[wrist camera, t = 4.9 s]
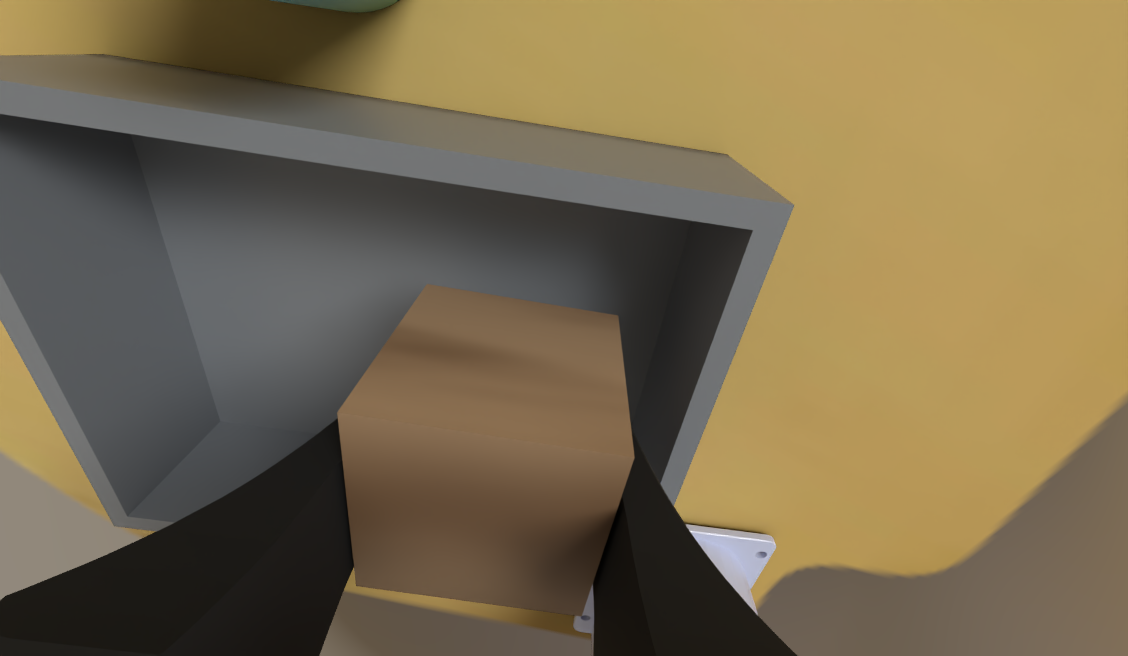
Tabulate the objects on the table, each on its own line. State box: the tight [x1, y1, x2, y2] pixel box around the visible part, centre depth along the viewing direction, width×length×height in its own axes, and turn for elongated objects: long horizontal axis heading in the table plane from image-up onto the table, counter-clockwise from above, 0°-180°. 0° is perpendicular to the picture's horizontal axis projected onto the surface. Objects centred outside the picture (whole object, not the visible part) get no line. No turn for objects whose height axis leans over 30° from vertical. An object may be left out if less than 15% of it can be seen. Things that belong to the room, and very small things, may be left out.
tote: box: [0, 54, 794, 585], centre depth 14 cm, size 13×17×5 cm
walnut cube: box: [337, 284, 635, 617], centre depth 11 cm, size 5×5×5 cm
